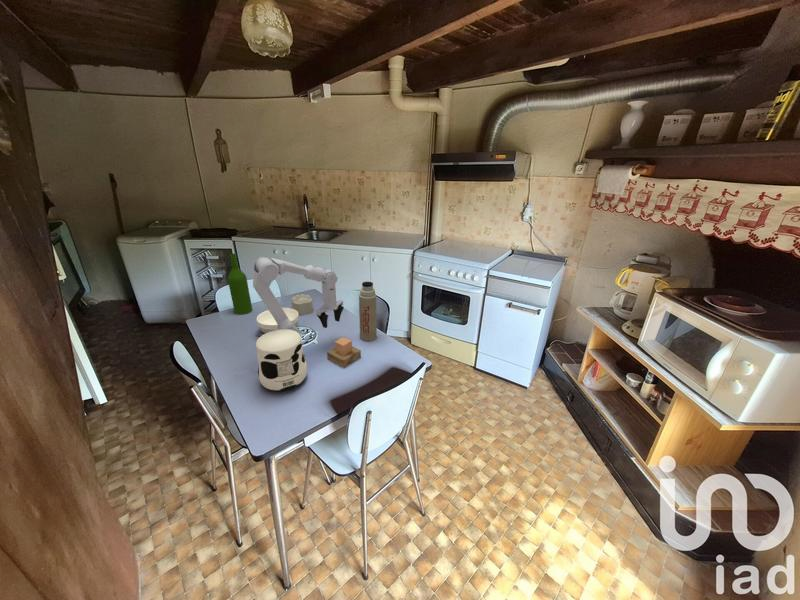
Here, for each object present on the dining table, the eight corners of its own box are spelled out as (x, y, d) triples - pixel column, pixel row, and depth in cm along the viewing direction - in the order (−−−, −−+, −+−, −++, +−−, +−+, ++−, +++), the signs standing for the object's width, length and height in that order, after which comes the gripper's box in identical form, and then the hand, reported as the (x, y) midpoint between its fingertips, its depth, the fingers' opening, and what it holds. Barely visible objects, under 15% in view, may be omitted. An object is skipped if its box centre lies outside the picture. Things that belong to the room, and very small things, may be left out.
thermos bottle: (370, 343, 144) (370, 287, 133) (356, 338, 148) (355, 284, 136) (379, 335, 151) (379, 282, 140) (365, 331, 154) (365, 278, 143)
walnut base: (343, 368, 126) (343, 360, 125) (327, 359, 132) (327, 351, 130) (360, 358, 134) (360, 350, 132) (344, 350, 139) (344, 342, 137)
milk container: (282, 362, 128) (276, 324, 121) (317, 372, 123) (313, 333, 116) (249, 387, 113) (241, 345, 106) (287, 400, 108) (281, 357, 101)
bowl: (305, 324, 159) (304, 308, 156) (290, 343, 142) (288, 326, 139) (271, 321, 161) (268, 306, 157) (251, 339, 144) (248, 323, 140)
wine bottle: (255, 310, 172) (245, 253, 159) (240, 316, 165) (229, 257, 152) (246, 306, 176) (235, 251, 163) (231, 312, 169) (219, 254, 156)
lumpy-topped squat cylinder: (296, 316, 167) (294, 302, 163) (289, 307, 177) (288, 293, 173) (315, 312, 172) (313, 298, 169) (307, 304, 182) (306, 290, 179)
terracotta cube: (343, 356, 128) (343, 345, 126) (335, 351, 130) (334, 341, 128) (352, 350, 131) (351, 340, 129) (343, 346, 134) (343, 336, 132)
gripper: (323, 304, 127) (325, 332, 132) (347, 293, 138) (348, 320, 143) (311, 299, 130) (314, 328, 136) (336, 290, 141) (337, 316, 147)
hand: (331, 324), depth 140 cm, fingers open, 7 cm apart
